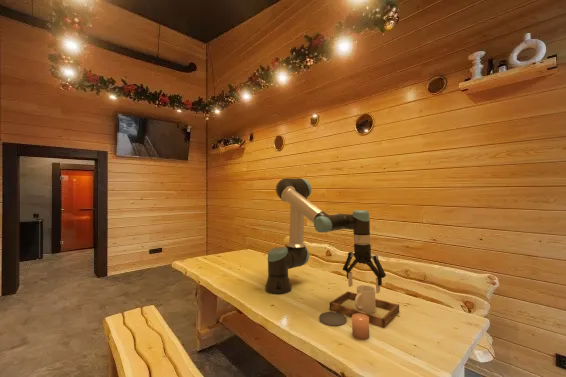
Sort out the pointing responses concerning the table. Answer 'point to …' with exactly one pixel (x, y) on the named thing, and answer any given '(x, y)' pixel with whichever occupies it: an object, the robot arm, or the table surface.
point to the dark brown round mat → (332, 319)
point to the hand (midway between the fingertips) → (363, 289)
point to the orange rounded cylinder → (360, 326)
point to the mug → (365, 299)
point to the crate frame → (373, 319)
